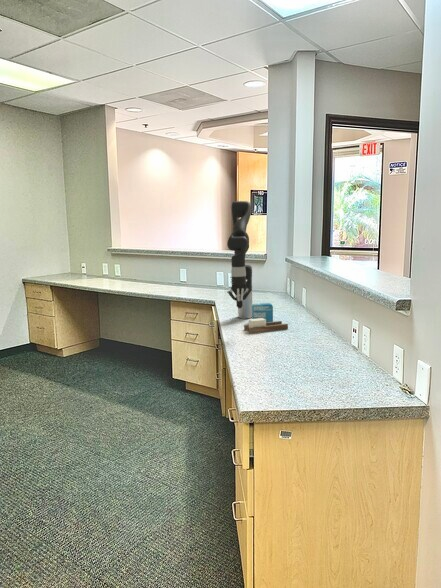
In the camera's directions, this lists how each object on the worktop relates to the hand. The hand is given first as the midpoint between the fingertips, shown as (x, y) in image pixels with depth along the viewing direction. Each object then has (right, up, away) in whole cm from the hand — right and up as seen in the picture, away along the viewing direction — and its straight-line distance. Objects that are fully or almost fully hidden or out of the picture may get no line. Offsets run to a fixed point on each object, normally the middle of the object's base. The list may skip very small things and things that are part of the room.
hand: (239, 307), depth 223 cm
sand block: (+10, -12, +5) cm, 17 cm away
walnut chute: (+15, -13, +7) cm, 21 cm away
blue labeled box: (+15, -11, +26) cm, 32 cm away
